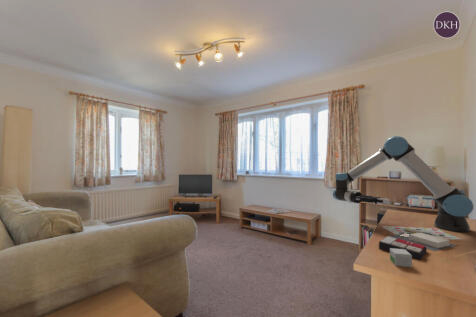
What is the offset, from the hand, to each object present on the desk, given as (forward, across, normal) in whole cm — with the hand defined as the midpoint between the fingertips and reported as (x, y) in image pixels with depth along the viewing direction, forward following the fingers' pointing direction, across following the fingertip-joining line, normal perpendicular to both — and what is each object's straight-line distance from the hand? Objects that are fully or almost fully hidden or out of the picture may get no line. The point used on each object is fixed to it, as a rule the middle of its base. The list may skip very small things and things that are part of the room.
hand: (389, 202), depth 123 cm
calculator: (+19, +20, -18) cm, 33 cm away
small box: (+27, +34, -18) cm, 47 cm away
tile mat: (+15, 0, -17) cm, 23 cm away
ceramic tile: (+12, 0, -15) cm, 20 cm away
